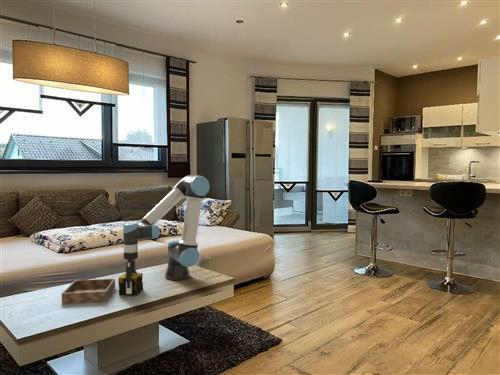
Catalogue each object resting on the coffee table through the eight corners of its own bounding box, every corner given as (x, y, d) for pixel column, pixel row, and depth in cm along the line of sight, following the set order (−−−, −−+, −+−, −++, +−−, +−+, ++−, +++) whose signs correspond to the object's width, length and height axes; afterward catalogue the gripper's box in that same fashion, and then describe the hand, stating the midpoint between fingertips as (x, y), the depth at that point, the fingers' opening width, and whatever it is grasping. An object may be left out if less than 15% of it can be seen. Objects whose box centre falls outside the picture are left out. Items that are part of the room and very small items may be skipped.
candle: (143, 290, 211) (143, 272, 211) (136, 296, 201) (136, 278, 201) (126, 289, 212) (125, 272, 212) (118, 295, 202) (117, 277, 202)
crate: (115, 288, 214) (115, 278, 214) (106, 302, 193) (106, 291, 192) (75, 289, 211) (75, 280, 210) (61, 304, 189) (61, 293, 189)
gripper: (127, 246, 217) (127, 282, 218) (119, 257, 192) (119, 297, 194) (140, 246, 218) (141, 281, 220) (134, 256, 193) (134, 297, 195)
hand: (131, 289), depth 207 cm, fingers open, 13 cm apart
